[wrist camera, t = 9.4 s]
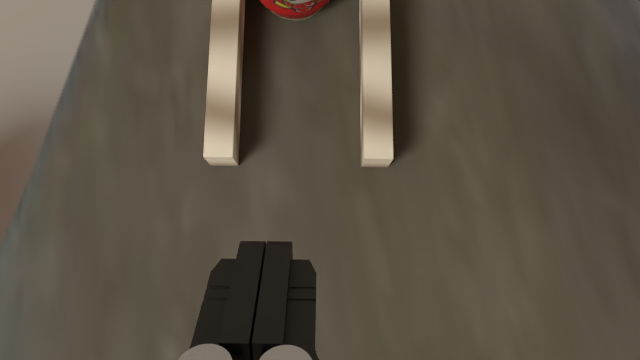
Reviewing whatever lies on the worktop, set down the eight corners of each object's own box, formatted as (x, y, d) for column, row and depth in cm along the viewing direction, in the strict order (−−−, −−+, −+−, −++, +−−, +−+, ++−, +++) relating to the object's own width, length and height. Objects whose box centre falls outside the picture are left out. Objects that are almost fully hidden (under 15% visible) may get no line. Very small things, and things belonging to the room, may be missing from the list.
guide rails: (388, 167, 35) (393, 158, 33) (211, 165, 35) (203, 157, 33) (383, -61, 39) (387, -83, 37) (223, -63, 39) (217, -85, 37)
